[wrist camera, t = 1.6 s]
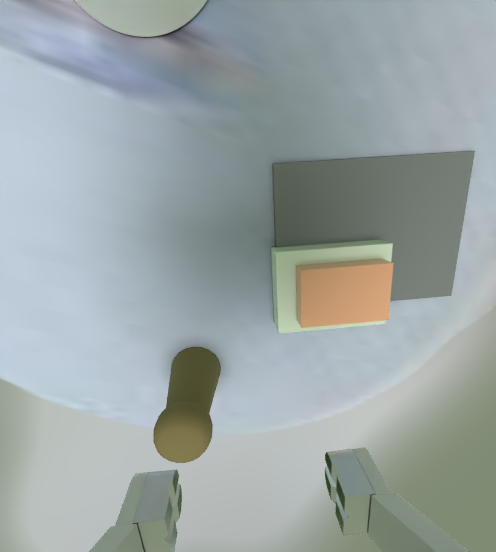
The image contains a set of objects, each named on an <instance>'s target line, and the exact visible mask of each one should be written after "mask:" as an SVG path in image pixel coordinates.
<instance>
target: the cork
mask: <svg viewBox="0 0 496 552" xmlns="http://www.w3.org/2000/svg"><path fill="white" fill-rule="evenodd" d="M220 367H221V366H220V363H219V360H218V358H217V357H216V355H215V354H214V353H212V352H211V351H209V350H207V349H204V348H202V347H191V348H187V349H184V350H183V351H181V352H179V353H178V354H177V355H176V357H175V358H174V360H173V363H172V367H171V375H170V382H169V390H168V397H167V405H166V409H165V410H164V411H163V412H162V413H161V414H160V416H159V417H158V420H157V422H156V425H155V427H154V444H155V446H156V449H157V451H158V453H159V454H160V455H161V456H162V457H163V458H165V459H167V460H169V461H172V462H176V463H186V462H190V461H193V460H195V459H197V458H199V457H200V456H201V454H203V453H204V452H205V450H206V449H207V447H208V445H209V443H210V441H211V438H212V421H211V418H210V415H209V412H210V408H211V404H212V401H213V397H214V393H215V390H216V386H217V382H218V378H219V375H220Z"/></svg>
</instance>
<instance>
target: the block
mask: <svg viewBox="0 0 496 552" xmlns="http://www.w3.org/2000/svg"><path fill="white" fill-rule="evenodd" d="M393 264H394V263H392V262H390V261H387V260H385V259H370V260H358V261H345V262H333V263H320V264H308V265H296V317H297V321H298V323H299V325H300V327H301V328H306V327H318V326H329V325H340V324H351V323H362V322H373V321H384V320H388V318H389V307H390V297H391V286H392V275H393Z"/></svg>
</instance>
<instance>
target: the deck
mask: <svg viewBox="0 0 496 552" xmlns="http://www.w3.org/2000/svg"><path fill="white" fill-rule="evenodd" d="M392 247H393V243H390V242H386V241H382V240H367V241H354V242H341V243H328V244H315V245H302V246H290V247H277V248H276V247H271V255H272V279H273V303H274V322H275V325H276V327H277V330H278V333H289V332H300V331H310V330H321V329H332V328H343V327H354V326H365V325H376V324H386V320H384V321H373V322H362V323H351V324H340V325H329V326H318V327H306V328H301V327H300V325H299V323H298V321H297V317H296V265H308V264H320V263H333V262H345V261H358V260H370V259H385V260H387V261H390V262H391V258H392Z"/></svg>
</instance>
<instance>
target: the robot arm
mask: <svg viewBox="0 0 496 552" xmlns="http://www.w3.org/2000/svg"><path fill="white" fill-rule="evenodd" d="M75 2H76V3H77V4H78V5H79V6H80V7H81V8H82V9H83V10H84V11H85V12H87V13H88V14H89V15H90V16H91V17H93V18H94V19H96V20H97V21H98V22H100V23H102V24H103V25H105V26H107V27H109V28H111V29H113V30H115V31H118V32H121V33H124V34H127V35H132V36H140V37H151V36H159V35H163V34H167V33H169V32H172V31H174V30H176V29H178V28H180V27H182V26H183V25H185V24H186V23H187V22H189V21H190V20H191V19H192V18H193V17H194V16H195V15H196V14H197V13H198V12H199V11H200V10H201V9H202V7H203V6H204V4H205V3H206V2H207V0H75ZM325 460H326V464H327V467H326V468H325V479H326V485H327V489H328V492H329V495H330V498H331V500H332V501H333V502H334V503H335V504H336V516H337V519H338V522H339V525H340V528H341V531H342V534H343V536H348V535H358V534H368V536H369V537H370V538H371V539H372V540H373V542H374V543H375V544H376V545H377V546H378V547H379V548H380V550H381V551H382V552H469V551H468V550H467V549H465V548H464V547H463V546H462V545H460V544H459V543H458V542H457V541H455V540H454V539H453V538H452V537H450V536H449V535H448V534H447V533H445V532H444V531H443V530H442V529H440V528H439V527H438V526H437V525H436V524H434V523H433V522H432V521H430V520H429V519H428V518H427V517H425V516H424V515H423V514H422V513H421V512H419V511H418V510H417V509H416V508H414V507H413V506H411V504H409V503H408V502H407V501H405V500H404V499H403V498H402V497H400V496H399V495H398V494H397V493H395V492H394V493H391V491H390V490H389V488H388V486H387V484H386V483H385V481H384V479H383V477H382V475H381V474H380V472H379V470H378V468H377V466H376V464H375V463H374V461H373V459H372V457H371V455H370V454H369V452H368V450H367V449H366V448H358V449H347V450H339V451H331V452H326V454H325ZM178 477H179V475H178V471H177V470H168V471H156V472H144V473H136V474H135V475H134V476H133V478H132V480H131V483H130V486H129V489H128V491H127V494H126V497H125V500H124V503H123V505H122V508H121V511H120V514H119V517H118V520H117V522H116V525H115V526H113V527H110V528H109V529H108V531H107V532H106V533H105V534H104V535H103V536H102V537H101V539H100V540H99V541H98V542H97V543H96V544H95V546H94V547H93V548H92V549H91V550H90V551H89V552H174V550H175V544H176V538H177V529H176V524H175V523H176V522H177V521H178V519H179V518H180V512H181V502H182V492H181V486H180V484H178Z"/></svg>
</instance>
